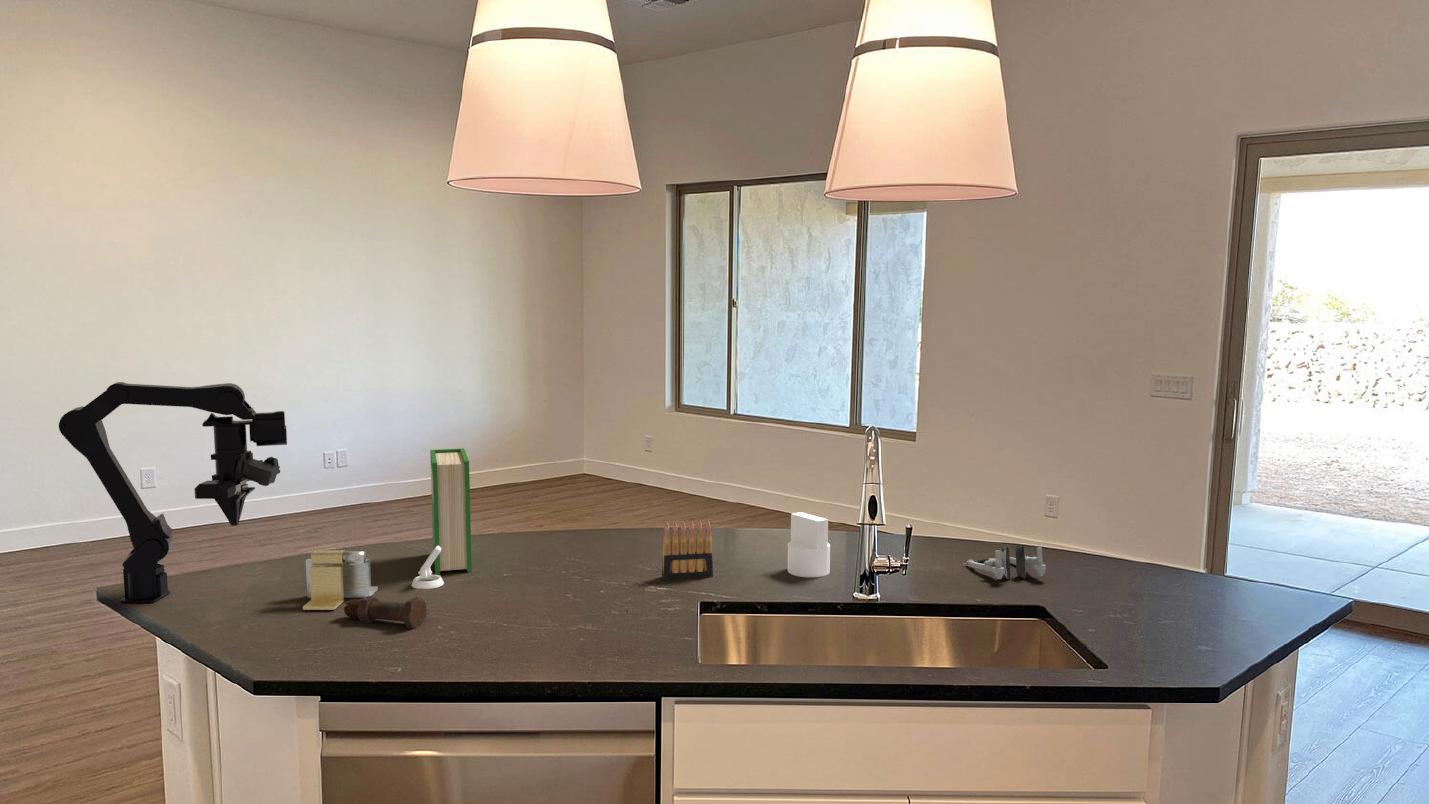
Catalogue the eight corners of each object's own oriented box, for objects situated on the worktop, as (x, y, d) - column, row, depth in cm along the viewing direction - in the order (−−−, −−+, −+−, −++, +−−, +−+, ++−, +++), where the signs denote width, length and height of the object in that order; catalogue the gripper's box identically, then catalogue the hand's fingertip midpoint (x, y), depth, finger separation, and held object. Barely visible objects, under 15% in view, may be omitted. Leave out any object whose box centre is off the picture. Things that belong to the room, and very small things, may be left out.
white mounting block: (300, 602, 188) (298, 553, 187) (317, 589, 197) (315, 541, 196) (363, 602, 188) (361, 553, 187) (377, 589, 197) (376, 541, 196)
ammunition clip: (663, 579, 205) (663, 523, 203) (661, 577, 207) (661, 521, 205) (713, 576, 207) (713, 520, 206) (711, 574, 209) (711, 518, 208)
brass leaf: (302, 609, 183) (300, 560, 182) (317, 597, 190) (315, 550, 189) (334, 609, 183) (332, 560, 182) (347, 597, 191) (346, 550, 190)
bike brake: (1054, 579, 204) (1008, 567, 224) (1052, 546, 204) (1006, 537, 224) (993, 583, 201) (952, 571, 221) (991, 550, 202) (950, 540, 221)
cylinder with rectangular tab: (778, 569, 212) (779, 515, 211) (809, 563, 218) (810, 510, 216) (807, 579, 205) (807, 523, 204) (838, 572, 211) (839, 517, 209)
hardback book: (471, 572, 209) (469, 461, 207) (435, 575, 207) (432, 462, 204) (466, 551, 226) (464, 448, 223) (433, 553, 224) (430, 449, 221)
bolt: (352, 626, 181) (422, 632, 176) (335, 620, 177) (407, 626, 172) (360, 595, 183) (430, 600, 179) (344, 588, 179) (415, 593, 174)
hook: (457, 568, 197) (432, 554, 195) (431, 605, 199) (406, 591, 197) (462, 554, 203) (437, 540, 201) (436, 589, 205) (412, 576, 203)
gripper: (251, 455, 185) (255, 536, 186) (291, 440, 203) (294, 514, 205) (191, 455, 184) (195, 536, 186) (236, 440, 203) (240, 514, 205)
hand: (234, 525), depth 195 cm, fingers closed
